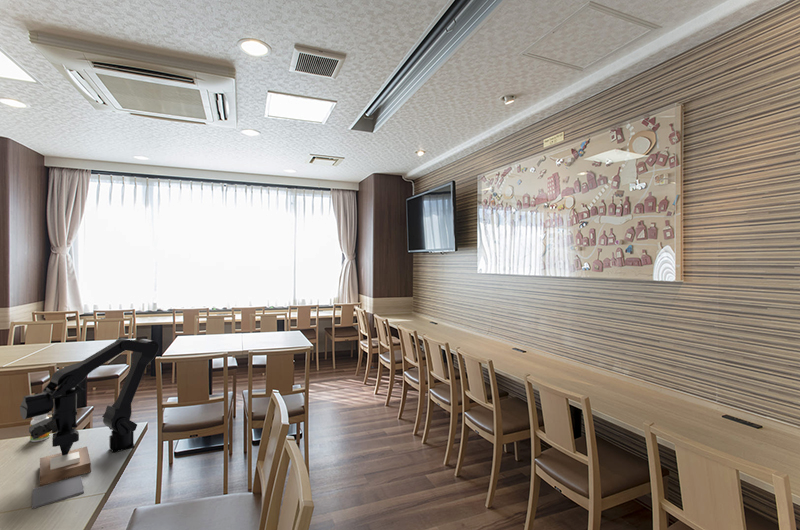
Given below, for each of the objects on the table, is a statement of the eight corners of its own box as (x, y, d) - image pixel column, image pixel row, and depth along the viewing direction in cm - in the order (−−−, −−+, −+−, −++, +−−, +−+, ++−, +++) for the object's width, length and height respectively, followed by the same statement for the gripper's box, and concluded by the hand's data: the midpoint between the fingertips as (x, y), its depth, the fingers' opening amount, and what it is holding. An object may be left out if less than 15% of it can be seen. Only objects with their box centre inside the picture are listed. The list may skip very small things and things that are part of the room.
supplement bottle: (27, 443, 141) (27, 417, 141) (33, 437, 145) (33, 411, 145) (46, 440, 143) (47, 414, 143) (51, 434, 148) (52, 409, 148)
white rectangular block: (78, 456, 127) (78, 451, 127) (79, 462, 123) (79, 457, 123) (50, 463, 122) (50, 458, 122) (50, 469, 119) (50, 465, 119)
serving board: (86, 454, 134) (87, 446, 134) (90, 471, 123) (90, 462, 123) (39, 467, 125) (39, 458, 125) (39, 486, 115) (39, 476, 115)
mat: (81, 476, 121) (81, 475, 121) (83, 492, 113) (83, 491, 113) (32, 490, 113) (32, 488, 113) (31, 509, 105) (31, 507, 105)
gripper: (32, 405, 126) (31, 452, 127) (29, 424, 113) (29, 477, 113) (76, 398, 134) (75, 442, 134) (79, 415, 120) (78, 464, 120)
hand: (64, 455), depth 125 cm, fingers closed
